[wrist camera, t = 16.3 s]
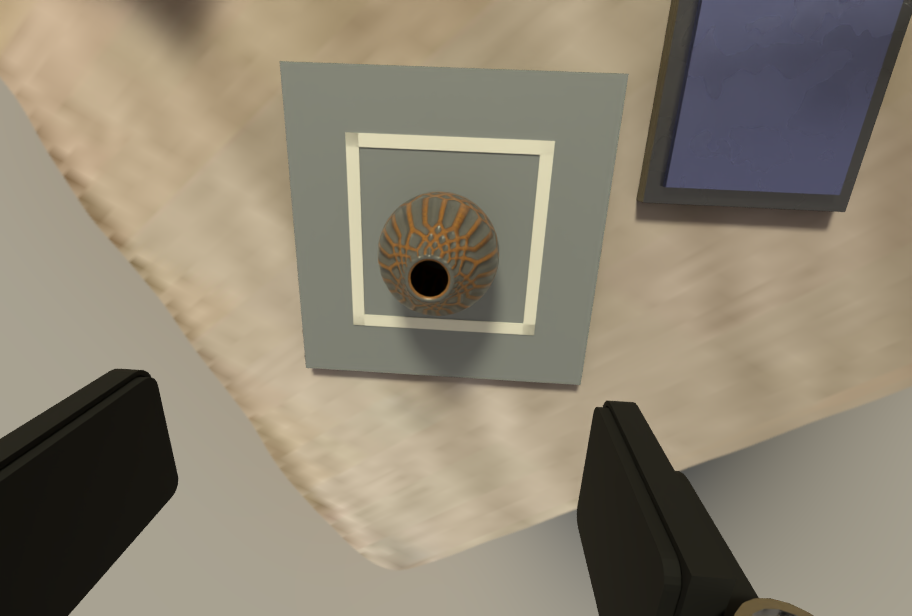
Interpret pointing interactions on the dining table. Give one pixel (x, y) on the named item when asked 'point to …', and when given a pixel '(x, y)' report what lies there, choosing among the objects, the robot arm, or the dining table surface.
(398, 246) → the vase
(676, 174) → the ink pad
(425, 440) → the dining table surface
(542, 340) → the board
